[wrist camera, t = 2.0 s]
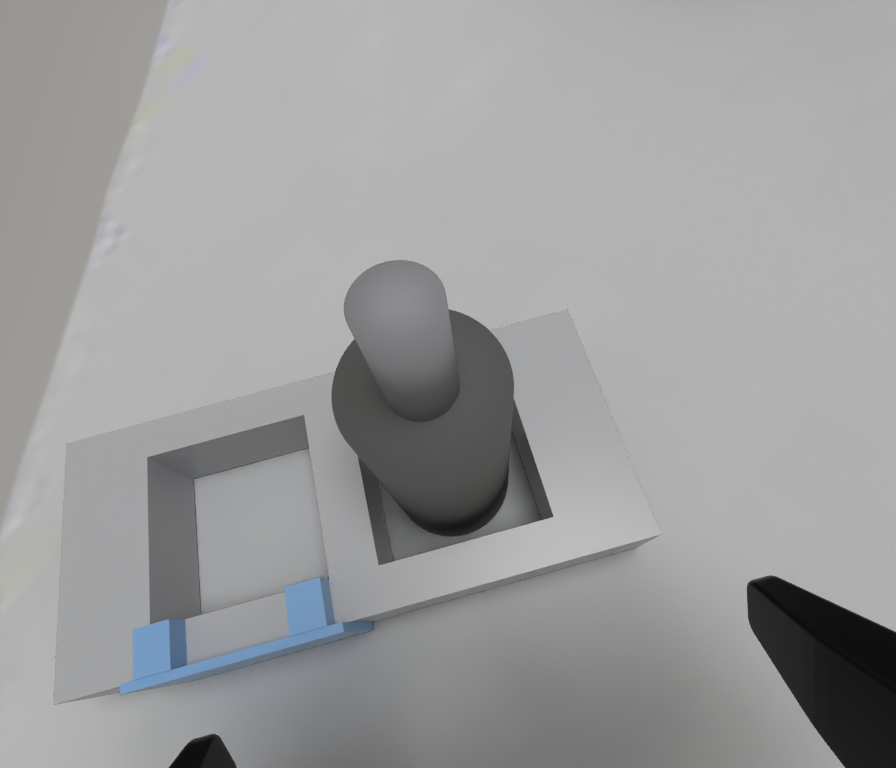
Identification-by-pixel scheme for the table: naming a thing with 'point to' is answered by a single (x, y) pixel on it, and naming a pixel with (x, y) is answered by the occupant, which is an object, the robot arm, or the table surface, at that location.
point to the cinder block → (341, 515)
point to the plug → (425, 399)
